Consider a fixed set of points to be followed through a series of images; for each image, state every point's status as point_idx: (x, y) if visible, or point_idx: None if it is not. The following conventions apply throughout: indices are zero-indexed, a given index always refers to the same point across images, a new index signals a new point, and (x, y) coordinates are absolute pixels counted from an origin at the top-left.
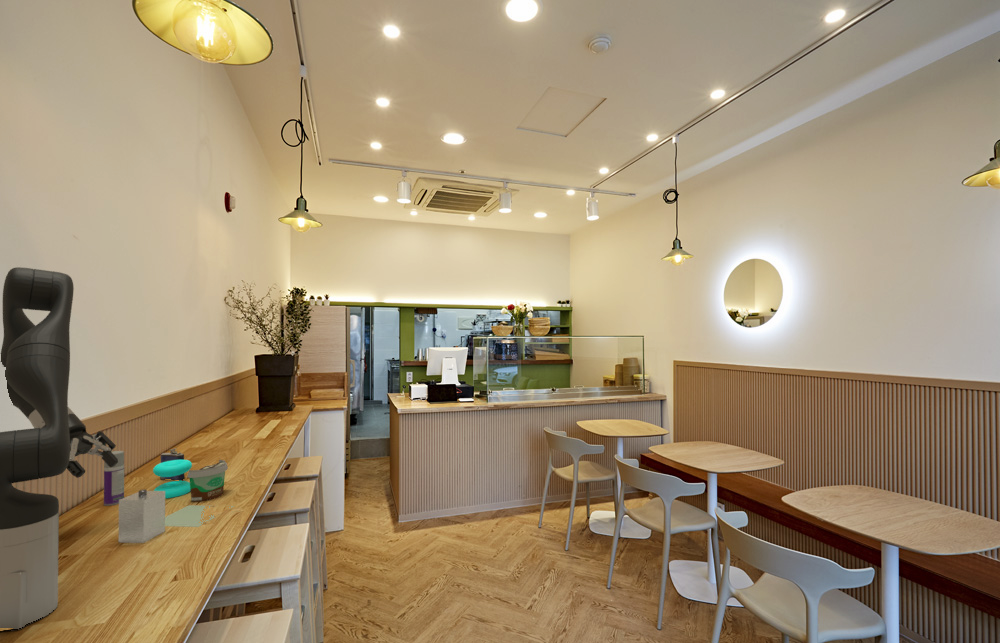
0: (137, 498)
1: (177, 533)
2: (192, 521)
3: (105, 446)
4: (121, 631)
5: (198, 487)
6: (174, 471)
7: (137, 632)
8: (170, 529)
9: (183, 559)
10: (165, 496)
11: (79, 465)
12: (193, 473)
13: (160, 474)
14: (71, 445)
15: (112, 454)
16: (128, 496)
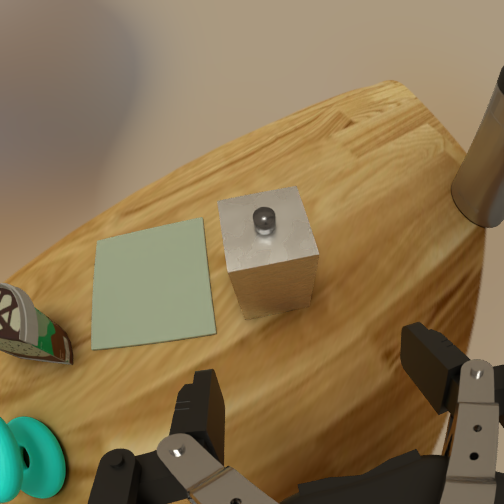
0: (290, 214)
1: None
2: (178, 251)
3: (177, 471)
4: (421, 105)
5: (50, 331)
6: (5, 426)
7: (414, 96)
8: (217, 269)
9: (311, 148)
10: (60, 449)
11: (431, 344)
12: (29, 324)
13: (21, 463)
14: (496, 452)
15: (178, 421)
16: (285, 258)
